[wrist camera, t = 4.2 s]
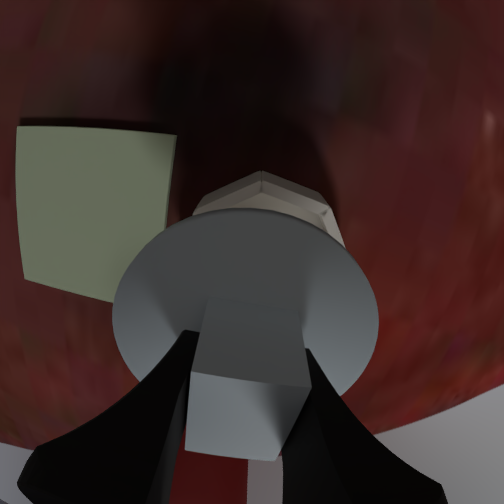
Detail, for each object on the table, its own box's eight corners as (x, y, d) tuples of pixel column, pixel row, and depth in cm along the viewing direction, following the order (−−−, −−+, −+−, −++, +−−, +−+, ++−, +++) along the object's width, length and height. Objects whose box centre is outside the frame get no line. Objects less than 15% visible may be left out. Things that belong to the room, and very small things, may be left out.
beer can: (171, 422, 28) (148, 527, 17) (193, 387, 26) (168, 512, 15) (232, 442, 29) (224, 544, 18) (262, 410, 27) (262, 530, 16)
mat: (28, 276, 22) (24, 278, 21) (21, 125, 17) (17, 126, 16) (160, 308, 22) (159, 312, 22) (177, 135, 17) (174, 135, 17)
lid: (126, 391, 14) (100, 461, 10) (121, 185, 10) (48, 231, 6) (325, 420, 14) (337, 492, 10) (409, 239, 10) (473, 304, 6)
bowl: (166, 213, 19) (151, 230, 17) (303, 152, 18) (311, 159, 15) (230, 324, 23) (226, 352, 20) (351, 279, 21) (363, 303, 18)
